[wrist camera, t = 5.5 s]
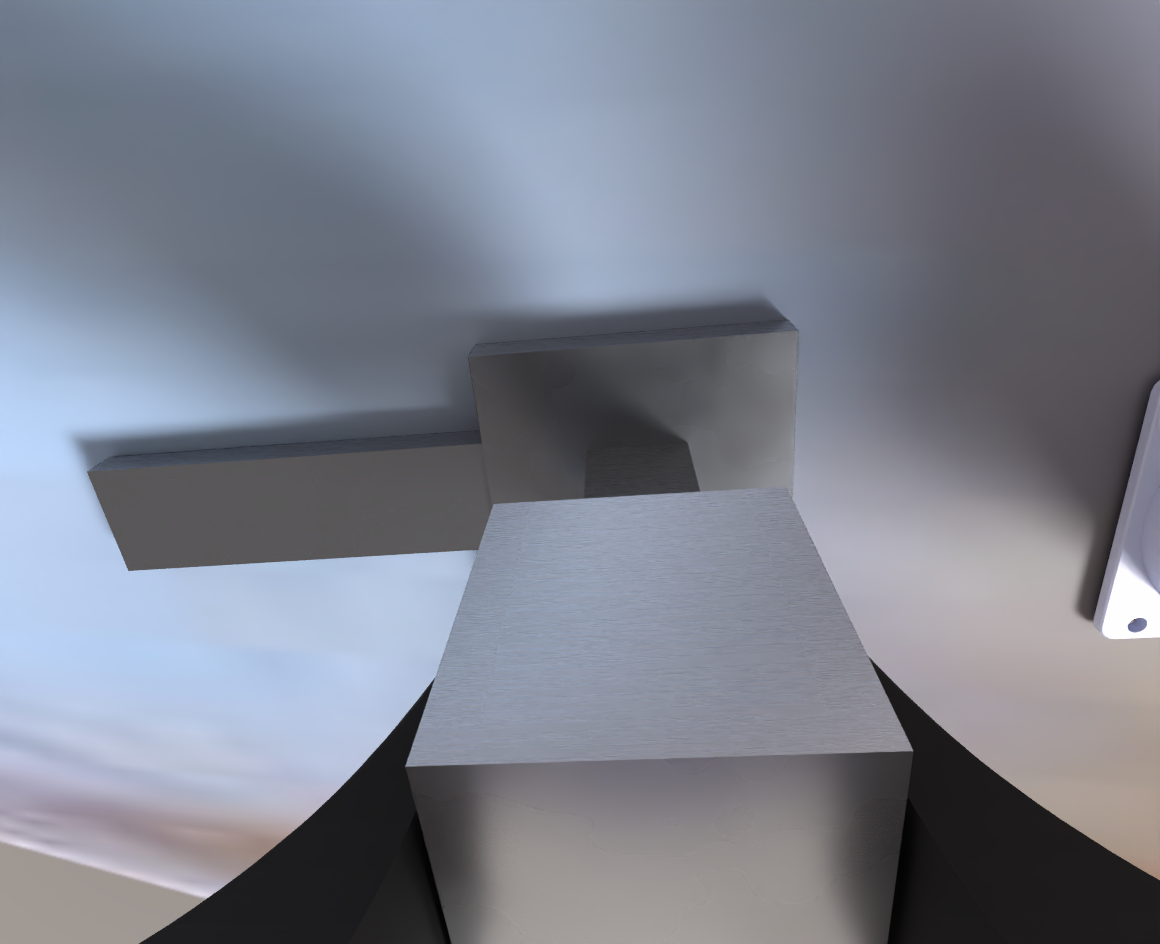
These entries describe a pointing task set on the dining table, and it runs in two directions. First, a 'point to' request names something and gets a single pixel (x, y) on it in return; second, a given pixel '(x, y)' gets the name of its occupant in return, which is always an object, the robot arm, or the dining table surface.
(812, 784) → the brushed metal cube
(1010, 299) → the dining table surface
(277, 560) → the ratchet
